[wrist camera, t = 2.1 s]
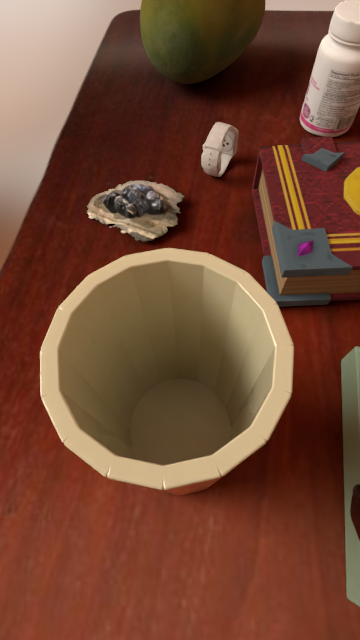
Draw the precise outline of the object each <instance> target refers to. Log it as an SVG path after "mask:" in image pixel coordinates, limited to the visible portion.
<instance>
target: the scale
mask: <svg viewBox="0 0 360 640" xmlns="http://www.w3.org/2000/svg"><path fill="white" fill-rule="evenodd" d="M341 377H342V419H343V462H344V504H345V547H346V589H347V599H348V600H350V601H351V602H353V603H355V604H356V605H358V606H359V607H360V540H359V538H358V535H357V533H356V530H355V528H354V525H353V522H352V519H351V515H350V508H351V500H352V492H353V487H354V486H355V485H357V484H360V347H357V346H356V347H354V348H353V349H352V350H351V351H350V352H349V353H348V354H347V355H346V356H345V357H344V358H343V359H342V360H341Z"/></svg>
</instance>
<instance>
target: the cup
mask: <svg viewBox="0 0 360 640" xmlns="http://www.w3.org/2000/svg"><path fill="white" fill-rule="evenodd" d="M293 365H294V347H293V342H292V339H291V337H290V334H289V332H288V329H287V326H286V324H285V321H284V319H283V316H282V314H281V311H280V309H279V306H278V305H277V302H276V301H275V300H274V299H273V298H272V297H271V296H270V295H269V294H268V293H267V292H266V291H265V290H264V289H263V288H262V287H261V286H260V284H259V283H258V282H257V281H256V280H255V279H254V278H253V277H252V276H251V275H250V274H249V273H247V272H246V271H244V270H242V269H240V268H238V267H236V266H234V265H232V264H230V263H228V262H226V261H224V260H222V259H220V258H218V257H216V256H214V255H212V254H209V253H204V252H196V251H189V250H181V249H174V248H168V249H167V248H164V249H158V250H153V251H147V252H142V253H136V254H130V255H127V256H123V257H121V258H120V259H118V260H116V261H114V262H112V263H110V264H108V265H106V266H105V267H103V268H101V269H99V270H97V271H95V272H93V273H91V274H90V275H88V276H87V277H86V278H85V279H84V280H83V281H82V282H81V283H80V284H79V285H78V287H77V288H76V289H75V290H74V291H73V292H72V293H71V294H70V295H69V296H68V297H67V298H66V299H65V300H64V302H63V303H62V304H61V305H60V306H59V308H58V309H57V310H56V313H55V315H54V318H53V320H52V323H51V325H50V327H49V330H48V332H47V335H46V337H45V339H44V342H43V344H42V347H41V350H40V396H41V397H42V402H43V404H44V406H45V408H46V410H47V412H48V414H49V416H50V419H51V421H52V423H53V425H54V427H55V429H56V431H57V433H58V435H59V437H60V439H61V441H62V442H63V443H64V445H65V446H66V447H67V448H68V449H70V450H71V451H72V452H74V453H75V454H76V455H77V456H79V457H80V458H81V459H82V460H84V461H85V462H86V463H88V464H89V465H90V466H91V467H93V468H94V469H95V470H96V471H98V472H99V473H100V474H102V475H103V476H104V477H107V478H109V479H112V480H116V481H120V482H124V483H128V484H133V485H137V486H141V487H145V488H149V489H153V490H157V491H162V492H166V493H171V494H175V495H185V494H189V493H194V492H198V491H202V490H205V489H207V488H208V487H210V486H211V485H212V484H214V483H215V482H216V481H218V480H219V479H220V478H222V477H223V476H225V475H226V474H227V473H228V472H230V471H231V470H232V469H234V468H235V467H236V466H238V465H239V464H240V463H241V462H243V461H244V460H245V459H247V458H248V457H249V456H251V455H252V454H253V453H254V452H256V451H257V450H258V449H260V448H261V447H262V446H264V445H265V444H266V442H267V441H268V440H269V439H270V437H271V435H272V433H273V431H274V429H275V427H276V425H277V423H278V421H279V419H280V418H281V416H282V414H283V412H284V410H285V408H286V406H287V404H288V402H289V400H290V398H291V394H292V387H293Z"/></svg>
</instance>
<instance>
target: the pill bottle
mask: <svg viewBox="0 0 360 640" xmlns="http://www.w3.org/2000/svg"><path fill="white" fill-rule="evenodd" d="M359 106H360V0H345V1H343V2H341V3H339V4H338V5H337V6H336V8H335V10H334V13H333V17H332V20H331V23H330V28H329V34H327V35H326V36H325V37H324V38H323V40H322V41H321V43H320V46H319V49H318V52H317V55H316V60H315V63H314V67H313V71H312V74H311V78H310V81H309V85H308V89H307V92H306V96H305V100H304V103H303V107H302V111H301V114H300V122H301V125H302V126H303V128H304V129H305V130H306V131H308V132H310V133H312V134H314V135H318V136H322V137H336V136H339V135H342V134H344V133H345V132H347V131H348V130H349V128H350V127H351V125H352V123H353V121H354V118H355V116H356V113H357V111H358V108H359Z"/></svg>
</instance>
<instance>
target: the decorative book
mask: <svg viewBox="0 0 360 640" xmlns="http://www.w3.org/2000/svg"><path fill="white" fill-rule="evenodd" d="M252 194H253V200H254V205H255V211H256V216H257V222H258V227H259V233H260V238H261V244H262V249H263V255H264V256H263V260H262V264H263V270H264V276H265V282H266V288H267V293H268V294H269V295H270V296H271V297H272V298H273V299H274V300H275V301H276V302H277V305H278V306H279V307H284V306H304V305H324V304H328V303H329V302H330V301H345V300H360V142H344V143H334V142H333V139H332V137H315V138H302V141H301V145H282V146H261V147H260V148H259V154H258V159H257V164H256V169H255V175H254V180H253V185H252Z"/></svg>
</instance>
